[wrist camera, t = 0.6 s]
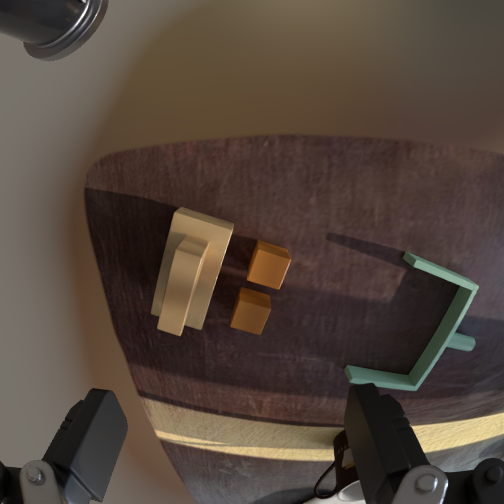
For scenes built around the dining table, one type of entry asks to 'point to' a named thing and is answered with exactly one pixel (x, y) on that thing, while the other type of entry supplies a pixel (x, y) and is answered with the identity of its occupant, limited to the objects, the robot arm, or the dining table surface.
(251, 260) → the crumb
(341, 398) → the dining table surface
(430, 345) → the green u-shaped pusher
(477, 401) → the dining table surface
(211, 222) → the stepped wooden block
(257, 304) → the crumb
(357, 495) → the coffee mug
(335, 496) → the plate
